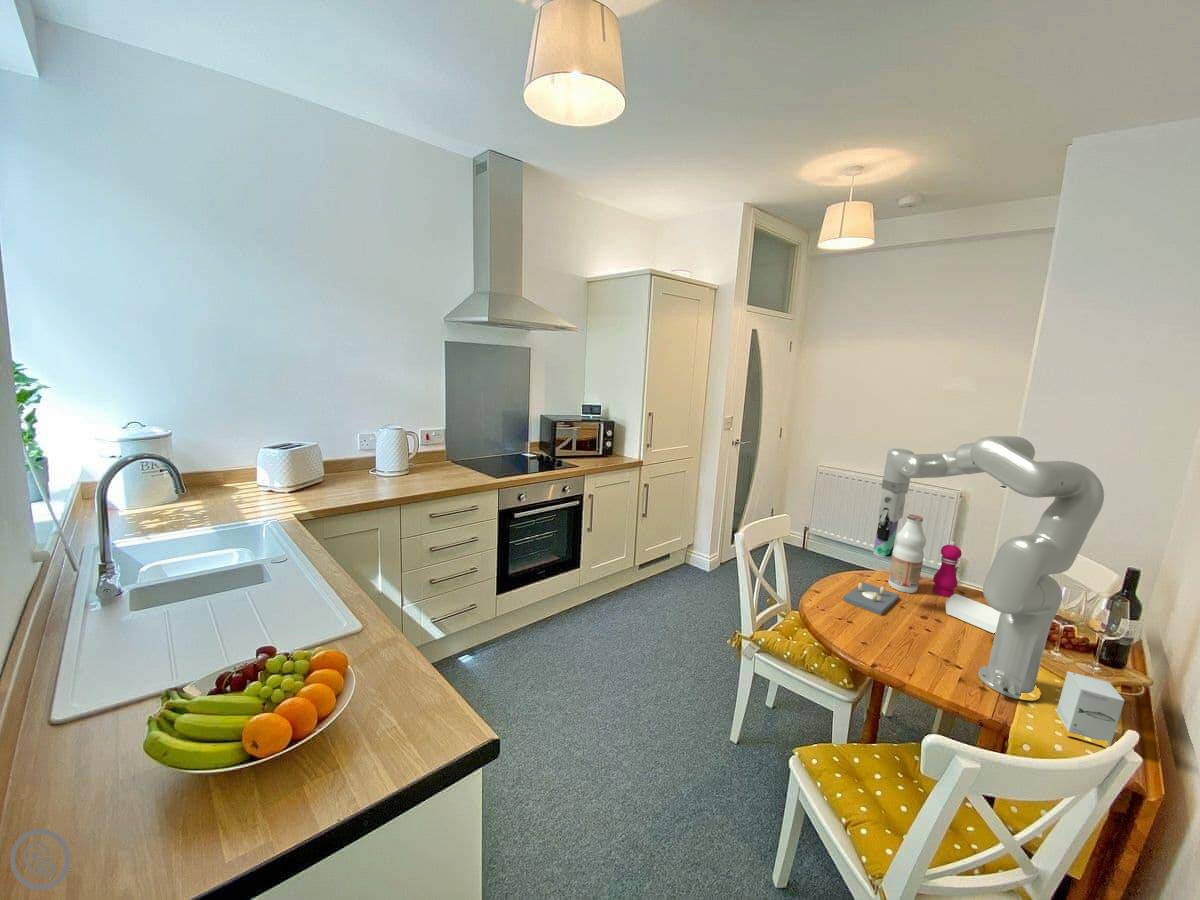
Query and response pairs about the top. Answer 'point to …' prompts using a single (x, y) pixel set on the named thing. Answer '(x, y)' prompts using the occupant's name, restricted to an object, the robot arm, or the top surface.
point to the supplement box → (1089, 707)
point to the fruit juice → (908, 556)
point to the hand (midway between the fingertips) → (885, 537)
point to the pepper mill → (947, 571)
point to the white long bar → (973, 612)
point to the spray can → (886, 542)
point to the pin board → (871, 598)
